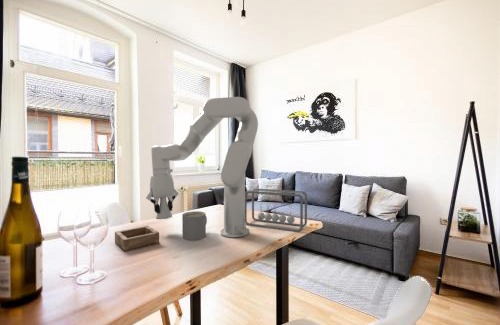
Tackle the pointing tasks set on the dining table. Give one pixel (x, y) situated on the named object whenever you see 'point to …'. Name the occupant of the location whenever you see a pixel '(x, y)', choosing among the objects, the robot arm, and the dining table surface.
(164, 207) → the flask
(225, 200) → the robot arm
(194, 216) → the coffee mug
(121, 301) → the dining table surface
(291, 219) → the newton's cradle
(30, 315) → the dining table surface
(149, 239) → the walnut well
